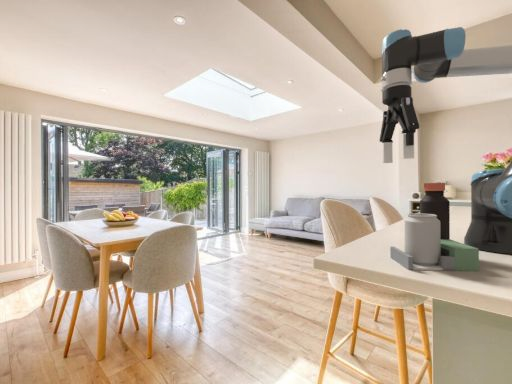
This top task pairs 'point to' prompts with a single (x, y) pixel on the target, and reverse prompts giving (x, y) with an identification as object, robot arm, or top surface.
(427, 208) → the bottle
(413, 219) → the can
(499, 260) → the top surface
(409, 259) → the green and grey holder
